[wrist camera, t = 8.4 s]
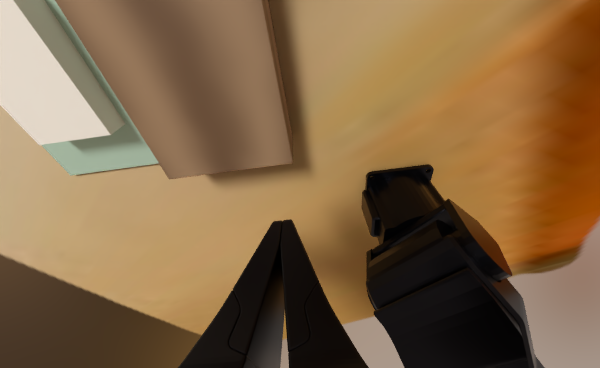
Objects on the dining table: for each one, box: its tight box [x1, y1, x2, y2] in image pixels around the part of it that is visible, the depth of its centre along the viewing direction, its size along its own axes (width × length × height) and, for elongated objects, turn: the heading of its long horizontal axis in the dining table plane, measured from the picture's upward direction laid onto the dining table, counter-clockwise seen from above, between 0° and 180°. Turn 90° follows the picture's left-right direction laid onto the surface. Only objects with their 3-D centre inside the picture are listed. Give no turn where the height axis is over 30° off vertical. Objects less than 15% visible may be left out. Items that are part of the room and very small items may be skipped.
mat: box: [42, 0, 158, 175], centre depth 17 cm, size 12×17×1 cm
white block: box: [0, 0, 125, 145], centre depth 16 cm, size 6×9×2 cm, turn 8°
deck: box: [55, 0, 293, 179], centre depth 14 cm, size 10×16×4 cm, turn 8°
